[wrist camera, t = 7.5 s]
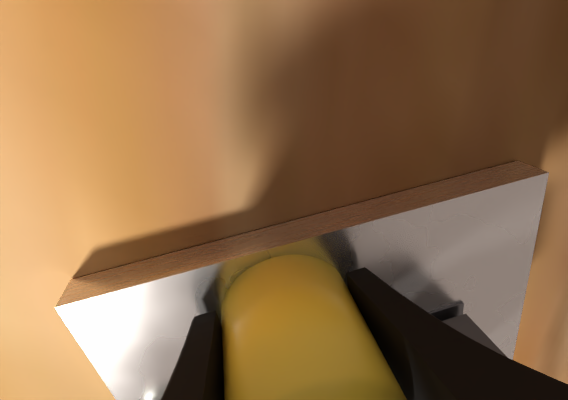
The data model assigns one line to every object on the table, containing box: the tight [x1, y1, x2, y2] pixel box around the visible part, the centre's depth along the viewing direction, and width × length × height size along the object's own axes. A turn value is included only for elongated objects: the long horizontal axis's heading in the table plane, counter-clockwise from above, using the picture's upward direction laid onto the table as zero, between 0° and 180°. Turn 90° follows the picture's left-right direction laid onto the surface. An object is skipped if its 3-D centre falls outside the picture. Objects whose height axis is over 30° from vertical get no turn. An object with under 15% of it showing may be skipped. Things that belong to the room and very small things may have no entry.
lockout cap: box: [221, 255, 407, 400], centre depth 9 cm, size 4×4×4 cm
